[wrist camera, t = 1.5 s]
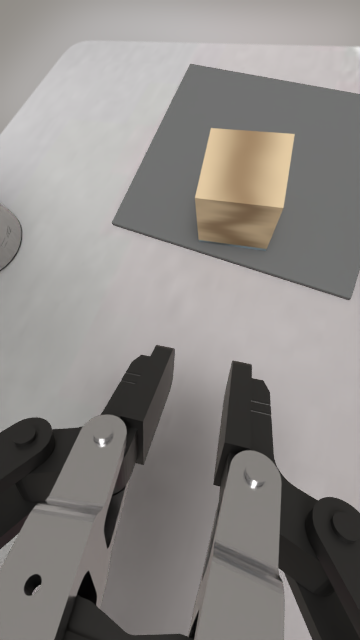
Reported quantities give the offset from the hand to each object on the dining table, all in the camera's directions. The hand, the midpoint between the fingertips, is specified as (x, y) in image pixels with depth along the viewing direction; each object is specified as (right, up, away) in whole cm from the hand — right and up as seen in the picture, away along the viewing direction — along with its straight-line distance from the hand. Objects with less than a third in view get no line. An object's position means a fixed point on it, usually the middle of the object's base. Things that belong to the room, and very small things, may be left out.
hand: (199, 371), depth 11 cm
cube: (+5, +13, +18) cm, 23 cm away
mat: (+8, +19, +20) cm, 29 cm away
